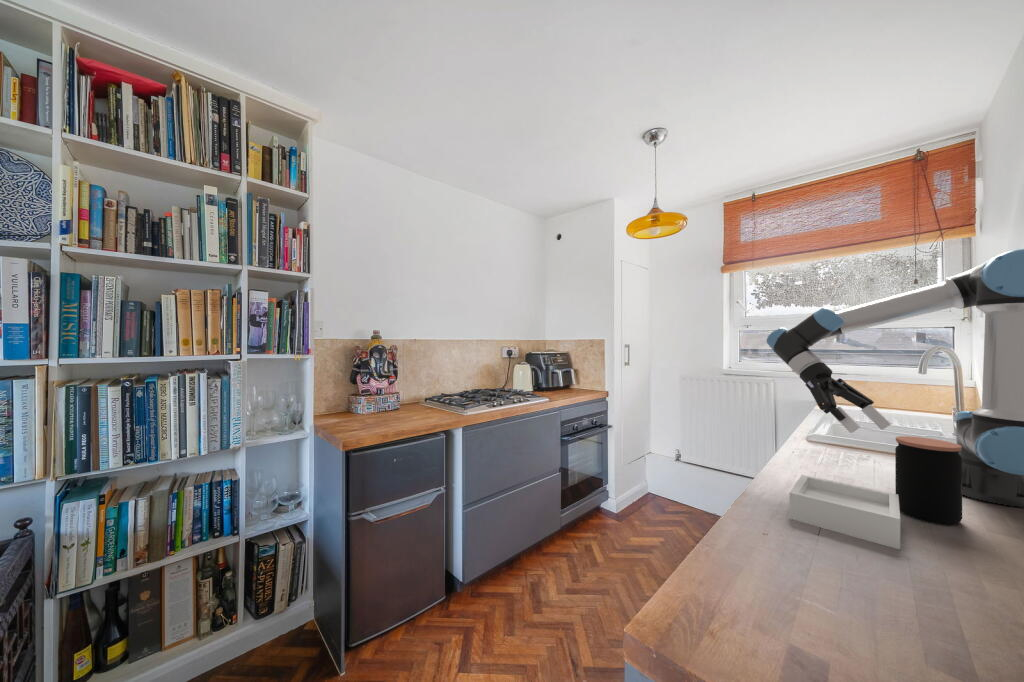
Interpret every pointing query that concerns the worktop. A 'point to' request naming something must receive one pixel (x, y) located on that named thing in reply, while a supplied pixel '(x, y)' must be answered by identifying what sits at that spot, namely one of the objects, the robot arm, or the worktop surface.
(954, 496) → the coffee jar
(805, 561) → the worktop surface
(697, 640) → the worktop surface
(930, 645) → the worktop surface
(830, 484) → the white square tray
